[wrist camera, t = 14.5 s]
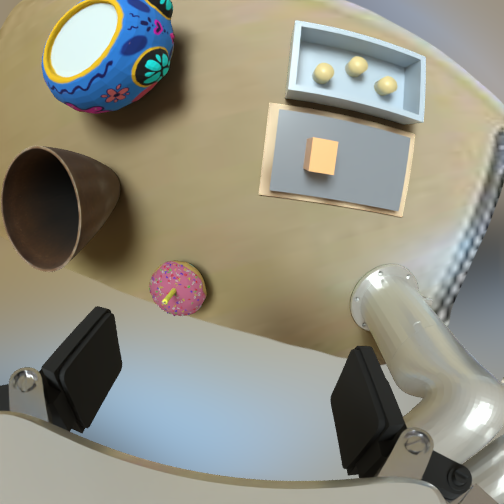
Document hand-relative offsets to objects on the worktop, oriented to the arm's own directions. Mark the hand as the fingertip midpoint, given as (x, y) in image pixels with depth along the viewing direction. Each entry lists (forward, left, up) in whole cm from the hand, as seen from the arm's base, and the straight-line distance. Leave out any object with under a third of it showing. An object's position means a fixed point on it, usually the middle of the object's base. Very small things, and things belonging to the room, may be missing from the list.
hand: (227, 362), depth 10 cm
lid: (-11, -8, -30) cm, 33 cm away
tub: (-11, -21, -32) cm, 39 cm away
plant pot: (+25, -1, -32) cm, 40 cm away
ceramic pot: (+21, -21, -32) cm, 43 cm away
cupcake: (+10, +12, -32) cm, 36 cm away
